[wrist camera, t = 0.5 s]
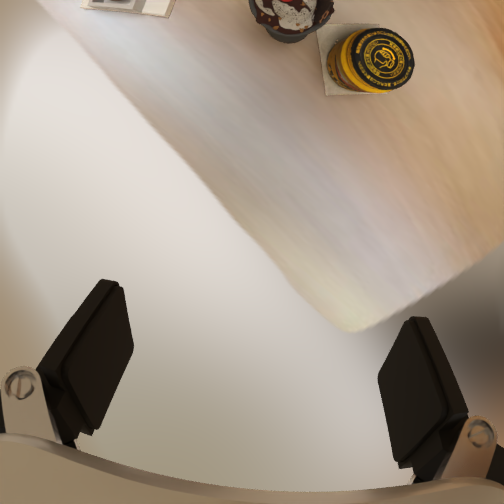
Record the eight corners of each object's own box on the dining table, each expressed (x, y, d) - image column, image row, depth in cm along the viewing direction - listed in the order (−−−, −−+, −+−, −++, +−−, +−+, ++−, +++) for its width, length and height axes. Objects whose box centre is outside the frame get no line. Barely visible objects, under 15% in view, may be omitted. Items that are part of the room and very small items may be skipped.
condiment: (325, 95, 32) (347, 100, 21) (314, 24, 28) (331, -3, 17) (387, 93, 31) (433, 100, 20) (378, 24, 27) (420, 2, 16)
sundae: (244, 15, 28) (221, -28, 15) (296, -12, 25) (306, -68, 12) (278, 60, 30) (277, 42, 17) (330, 33, 28) (363, 1, 15)
